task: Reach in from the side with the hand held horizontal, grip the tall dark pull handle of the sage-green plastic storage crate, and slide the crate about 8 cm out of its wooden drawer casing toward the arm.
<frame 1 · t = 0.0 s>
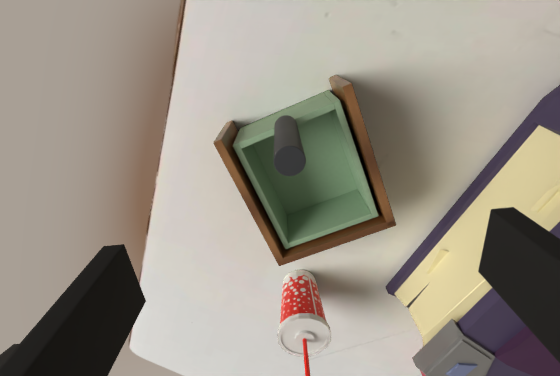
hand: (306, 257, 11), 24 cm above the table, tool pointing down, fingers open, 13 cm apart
wooden drawer casing: (304, 159, 36), on the table
beverage cup: (299, 281, 43), on the table
storage crate: (309, 185, 28), point 8 cm above the table, slide at 0.0 cm
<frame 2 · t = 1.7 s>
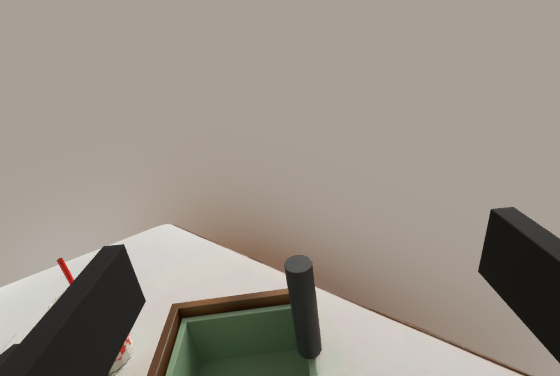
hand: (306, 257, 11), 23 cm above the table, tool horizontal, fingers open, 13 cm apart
beverage cup: (113, 357, 36), on the table
storage crate: (241, 346, 26), point 8 cm above the table, slide at 0.0 cm
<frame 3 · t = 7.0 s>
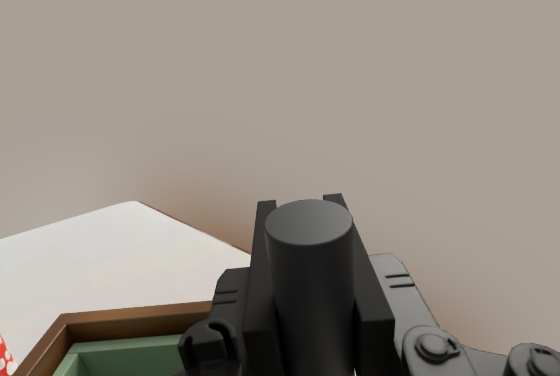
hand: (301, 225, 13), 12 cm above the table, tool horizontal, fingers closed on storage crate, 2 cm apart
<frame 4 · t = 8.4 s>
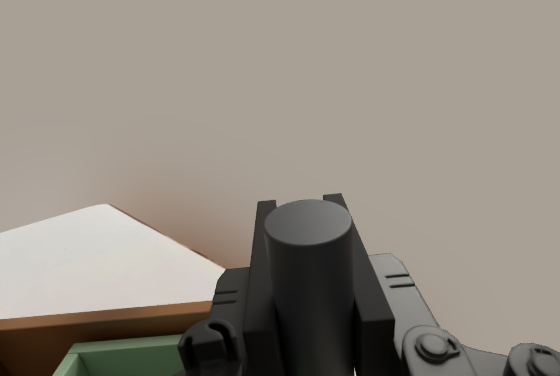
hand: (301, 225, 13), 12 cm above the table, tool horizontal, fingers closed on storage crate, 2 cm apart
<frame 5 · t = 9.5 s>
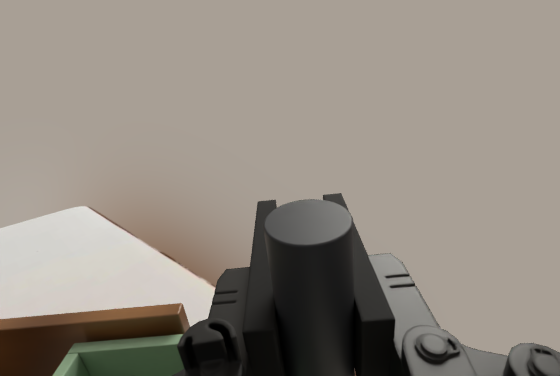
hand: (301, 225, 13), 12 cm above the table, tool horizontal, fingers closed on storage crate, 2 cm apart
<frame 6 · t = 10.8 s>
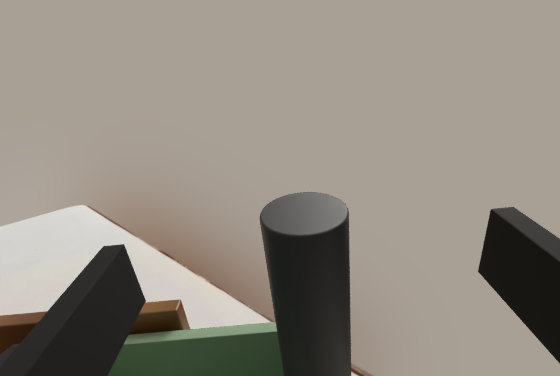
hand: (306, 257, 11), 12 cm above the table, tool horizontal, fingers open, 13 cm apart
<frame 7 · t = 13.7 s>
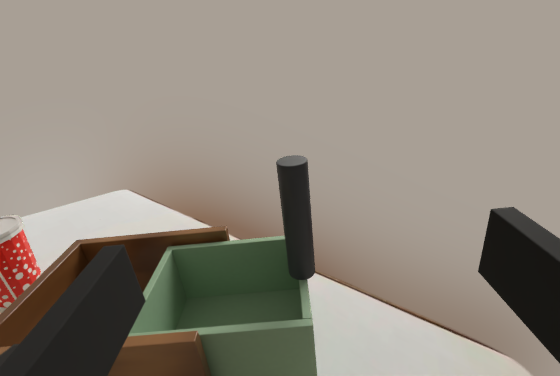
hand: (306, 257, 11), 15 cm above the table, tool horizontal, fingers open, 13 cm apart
wooden drawer casing: (148, 345, 27), on the table
beverage cup: (24, 301, 34), on the table
storage crate: (227, 264, 23), point 8 cm above the table, slide at 8.0 cm
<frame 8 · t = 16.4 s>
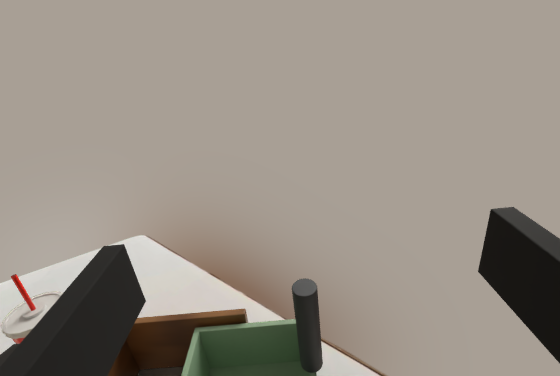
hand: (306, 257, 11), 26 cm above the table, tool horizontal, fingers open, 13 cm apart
beverage cup: (66, 364, 39), on the table
storage crate: (249, 358, 28), point 8 cm above the table, slide at 8.0 cm
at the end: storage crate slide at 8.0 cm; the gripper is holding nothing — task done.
